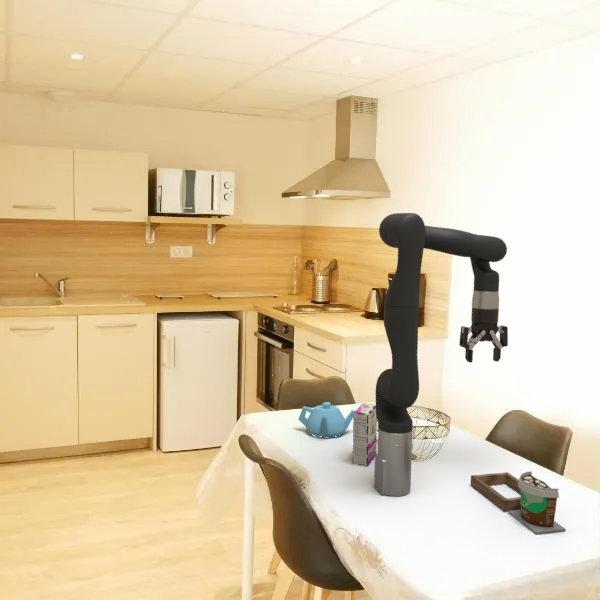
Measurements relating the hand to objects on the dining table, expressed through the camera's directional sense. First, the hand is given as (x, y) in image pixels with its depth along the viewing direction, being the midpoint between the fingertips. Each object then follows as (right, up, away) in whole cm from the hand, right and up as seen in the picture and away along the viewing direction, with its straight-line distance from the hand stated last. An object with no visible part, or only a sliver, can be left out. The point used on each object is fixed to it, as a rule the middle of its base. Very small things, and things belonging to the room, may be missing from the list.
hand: (482, 361), depth 191 cm
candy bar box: (-33, -32, +12) cm, 48 cm away
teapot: (-44, -29, +38) cm, 65 cm away
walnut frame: (+2, -35, -15) cm, 38 cm away
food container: (+3, -36, -30) cm, 47 cm away
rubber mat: (+5, -37, -30) cm, 48 cm away
